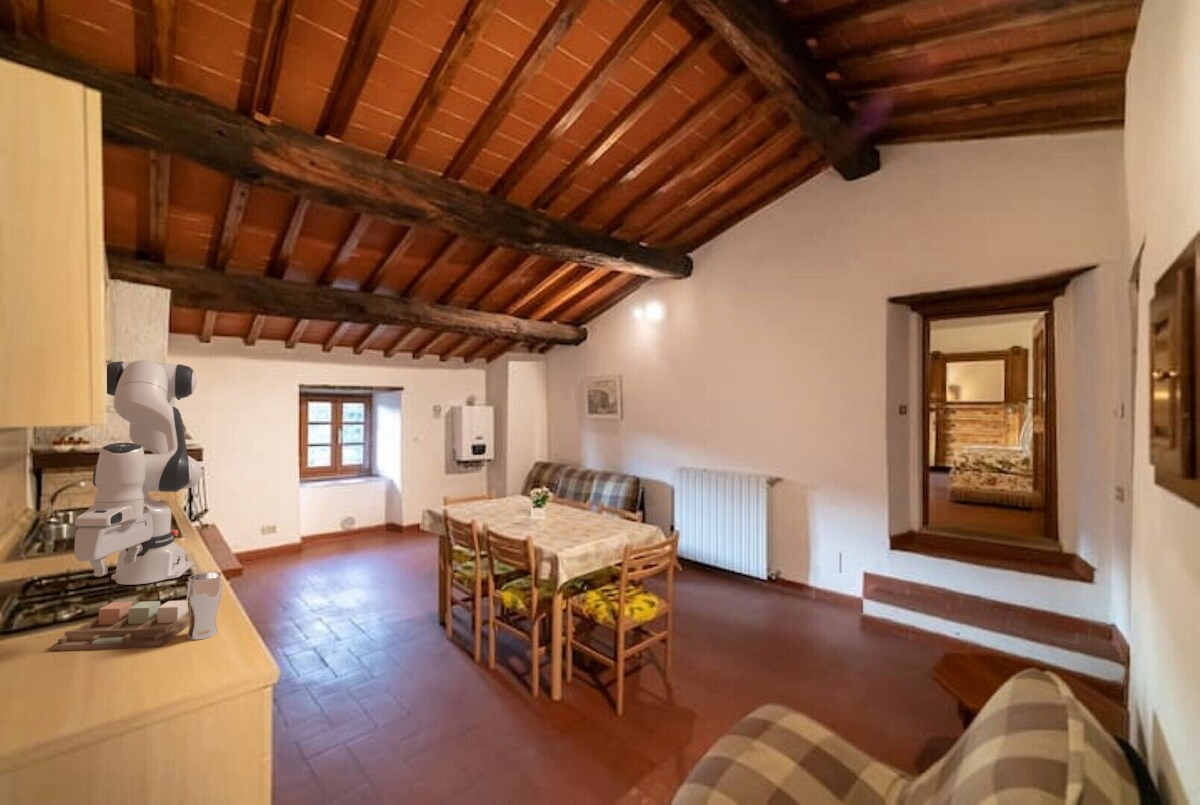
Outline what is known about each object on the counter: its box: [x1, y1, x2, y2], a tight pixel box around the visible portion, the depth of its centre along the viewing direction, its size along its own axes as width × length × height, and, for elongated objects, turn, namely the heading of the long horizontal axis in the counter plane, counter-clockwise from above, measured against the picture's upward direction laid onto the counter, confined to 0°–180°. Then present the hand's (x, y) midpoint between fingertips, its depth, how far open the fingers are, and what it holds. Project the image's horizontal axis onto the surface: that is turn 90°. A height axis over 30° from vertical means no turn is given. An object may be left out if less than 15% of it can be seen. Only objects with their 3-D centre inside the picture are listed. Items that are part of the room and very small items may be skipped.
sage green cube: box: [128, 600, 161, 624], centre depth 134 cm, size 4×4×4 cm
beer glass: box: [186, 571, 223, 641], centre depth 131 cm, size 7×7×15 cm
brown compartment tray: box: [50, 611, 190, 652], centre depth 130 cm, size 18×22×3 cm
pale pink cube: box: [157, 600, 188, 623], centre depth 136 cm, size 4×4×4 cm
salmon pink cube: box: [98, 601, 133, 625], centre depth 133 cm, size 4×4×4 cm
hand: (115, 569), depth 123 cm, fingers open, 8 cm apart
